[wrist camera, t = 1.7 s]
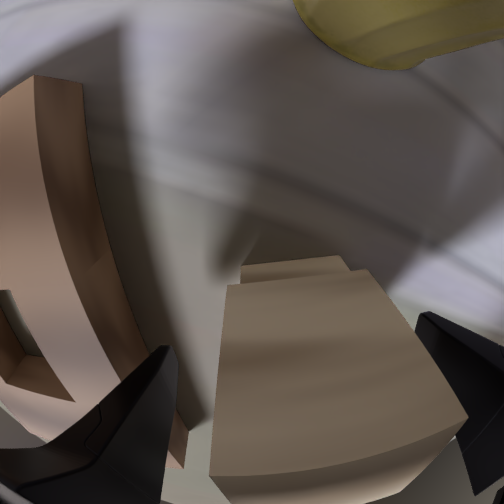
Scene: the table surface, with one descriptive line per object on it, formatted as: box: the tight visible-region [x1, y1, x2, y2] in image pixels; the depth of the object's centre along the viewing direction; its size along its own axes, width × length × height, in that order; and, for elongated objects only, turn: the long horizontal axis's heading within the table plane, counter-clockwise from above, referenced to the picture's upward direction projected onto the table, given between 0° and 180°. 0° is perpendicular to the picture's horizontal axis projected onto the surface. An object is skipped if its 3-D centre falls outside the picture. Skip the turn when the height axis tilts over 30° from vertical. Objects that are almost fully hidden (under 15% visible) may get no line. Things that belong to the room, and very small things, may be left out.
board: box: [0, 75, 189, 469], centre depth 10 cm, size 20×14×3 cm
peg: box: [209, 255, 469, 504], centre depth 8 cm, size 4×4×8 cm
